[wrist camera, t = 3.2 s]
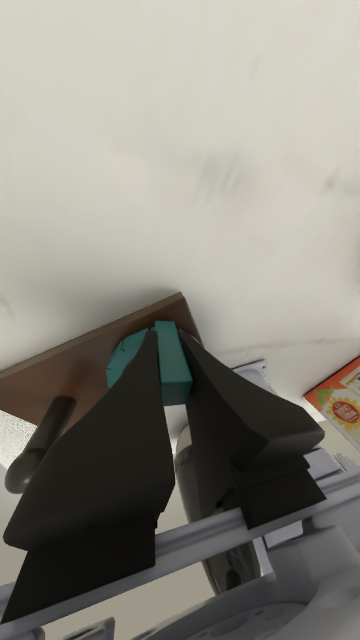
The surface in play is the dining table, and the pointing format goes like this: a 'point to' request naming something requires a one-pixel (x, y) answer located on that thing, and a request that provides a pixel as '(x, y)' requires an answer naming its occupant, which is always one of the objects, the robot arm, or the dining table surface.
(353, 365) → the cracker box
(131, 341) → the ring
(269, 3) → the dining table surface
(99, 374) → the peg rack
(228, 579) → the pump dispenser
